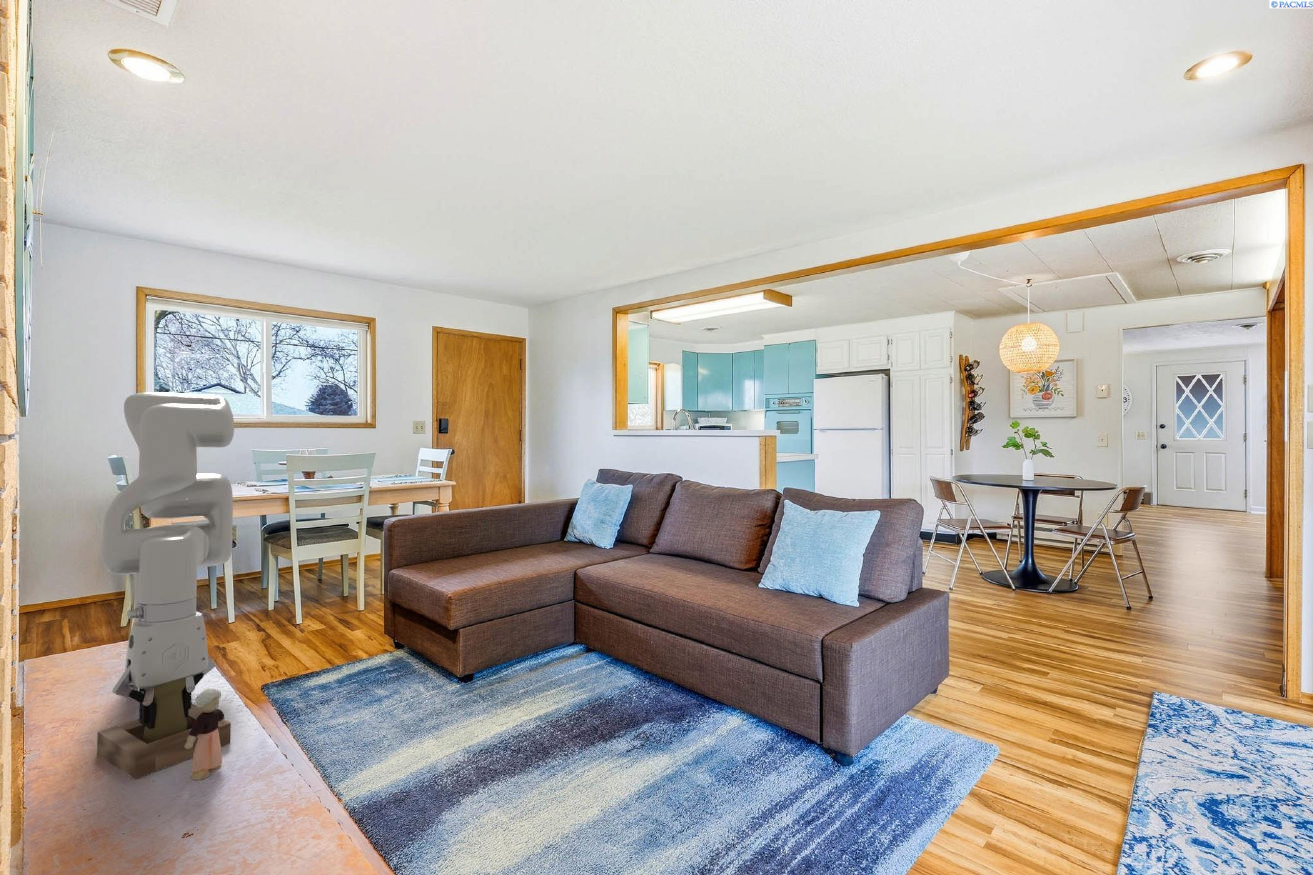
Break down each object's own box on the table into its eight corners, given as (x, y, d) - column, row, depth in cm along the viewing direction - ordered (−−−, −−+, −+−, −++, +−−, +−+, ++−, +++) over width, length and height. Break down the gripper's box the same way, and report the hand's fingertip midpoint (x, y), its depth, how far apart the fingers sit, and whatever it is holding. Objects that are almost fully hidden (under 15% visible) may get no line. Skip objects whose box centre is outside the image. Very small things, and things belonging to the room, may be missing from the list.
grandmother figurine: (207, 783, 93) (209, 698, 93) (179, 785, 92) (180, 699, 92) (234, 756, 100) (235, 678, 100) (207, 758, 100) (209, 679, 100)
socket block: (97, 753, 100) (97, 731, 100) (190, 721, 111) (190, 702, 111) (135, 779, 93) (135, 756, 93) (230, 743, 104) (230, 722, 104)
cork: (162, 751, 99) (163, 682, 99) (131, 746, 100) (132, 678, 100) (197, 733, 105) (198, 668, 105) (168, 728, 106) (169, 664, 106)
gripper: (113, 627, 93) (111, 748, 93) (235, 602, 108) (232, 707, 108) (93, 618, 97) (91, 735, 97) (213, 595, 111) (211, 697, 112)
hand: (165, 719), depth 102 cm, fingers closed on cork, 3 cm apart
